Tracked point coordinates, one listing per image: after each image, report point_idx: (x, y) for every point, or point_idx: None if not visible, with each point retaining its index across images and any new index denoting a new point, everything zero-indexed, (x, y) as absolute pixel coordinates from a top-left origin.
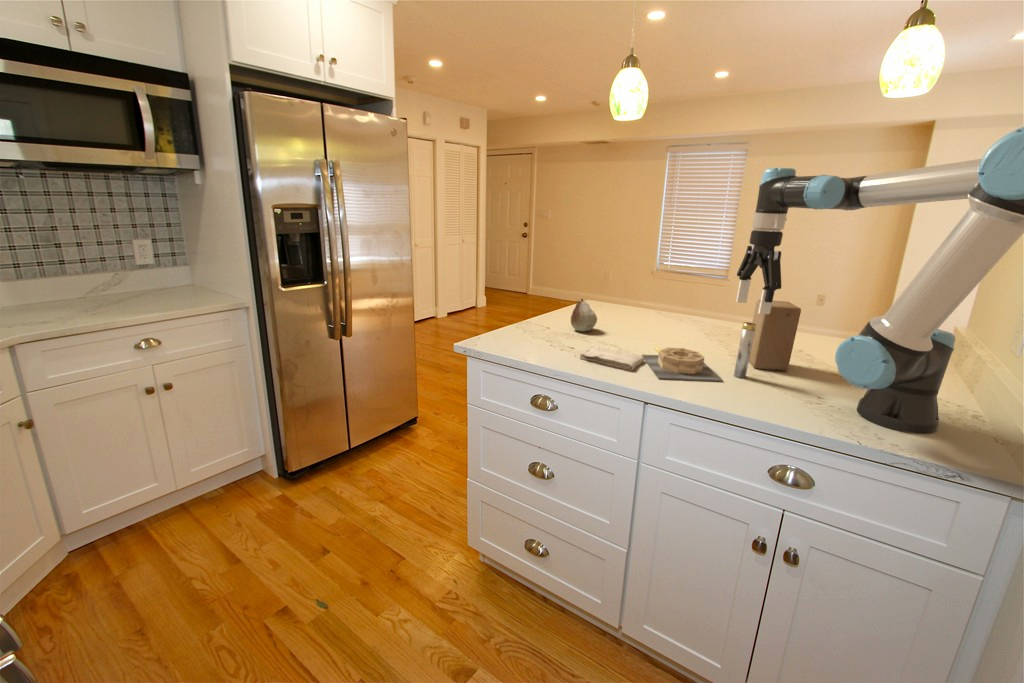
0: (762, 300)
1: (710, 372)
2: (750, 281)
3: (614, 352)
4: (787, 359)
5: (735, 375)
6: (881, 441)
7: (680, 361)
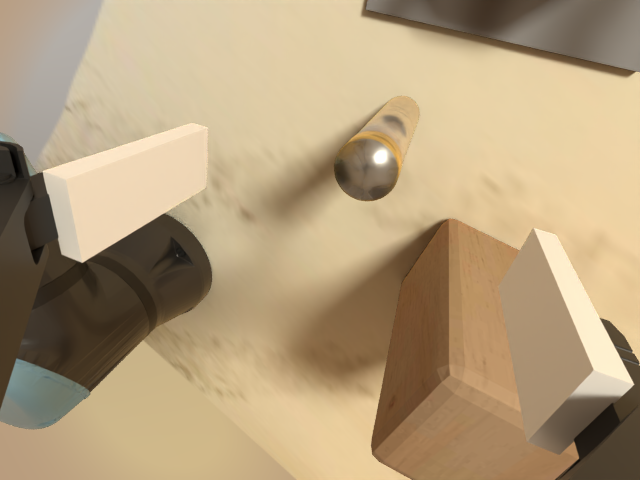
0: (126, 146)
1: (443, 5)
2: (526, 434)
3: None
4: (399, 299)
5: (399, 96)
6: (79, 154)
7: None
